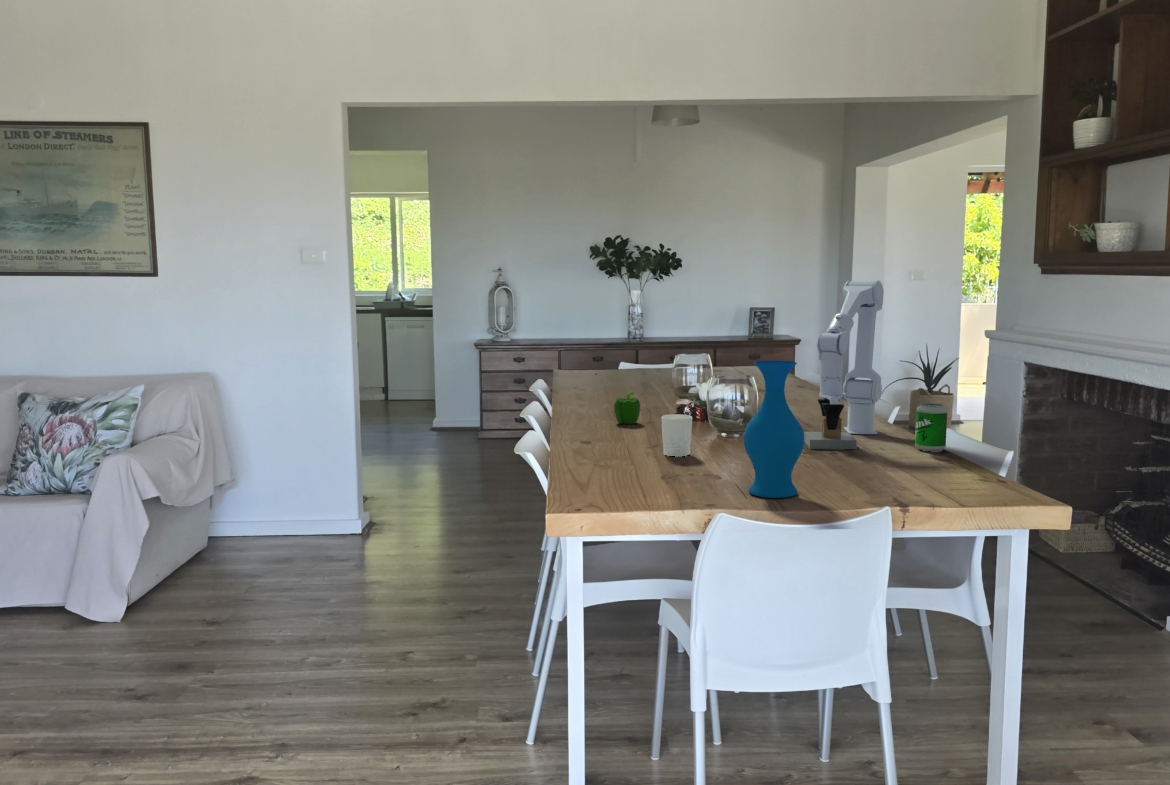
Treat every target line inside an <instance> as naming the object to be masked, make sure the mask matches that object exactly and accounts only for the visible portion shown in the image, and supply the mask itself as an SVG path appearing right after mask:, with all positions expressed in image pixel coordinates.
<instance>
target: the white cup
mask: <svg viewBox="0 0 1170 785" xmlns="http://www.w3.org/2000/svg"><path fill="white" fill-rule="evenodd" d="M692 429H693V416H692V415H688V414H677V413H676V414H675V413H674V414H664V415H662V416H661V434H662V435H661V436H662V446H663V447H662V448H663V449H662V450H663V455H664V456H665V455H667V456H666V457H669V456H675V457H674V458H679V457H678V456H685V457H687V456H686V455H689V454H690V455H691V443H692V441H691V440H692ZM690 455H689V456H690Z"/></svg>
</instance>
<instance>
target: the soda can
mask: <svg viewBox="0 0 1170 785" xmlns="http://www.w3.org/2000/svg"><path fill="white" fill-rule="evenodd" d="M915 409H916V411H915V413H916V414H915V430H914V432H915V436H914V438H915V439H914V440H915V441H914V446H915V447H916V448H917V449H921V450H925V451H931V452H930V453H941V452H943V450H944V449H945V448H947V424H948V409H947V408H946V407H945V405H944V404H943V403H941V404H940V403H933V402H932V403H931V402H930V403H929V402H927V403H926V402H925V403H923V402H922V403H920V404H919V405H918V406H917V407H916V408H915Z"/></svg>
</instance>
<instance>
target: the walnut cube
mask: <svg viewBox="0 0 1170 785" xmlns="http://www.w3.org/2000/svg"><path fill="white" fill-rule="evenodd" d="M821 432H822V435H823V437H835V438H841V432H842V417H840V416H839V420H838V424H837V428H836V430H828V428H827V423H826V416H821Z"/></svg>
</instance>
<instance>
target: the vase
mask: <svg viewBox="0 0 1170 785" xmlns="http://www.w3.org/2000/svg"><path fill="white" fill-rule="evenodd" d="M753 364H754V365H755V366H756V368H758V370H759V371H760V373H761V375H762V376H763V380H764V390H765V391H764V396H763V400H762V402H761V404H760V406H759V408H758V410H757V411H756V412H755V414H754V415H753V416H752V417H751V419H750V420H749V422H748V423H747V425H746V427H745V429H744V433H743V445H744V449H745V452H746V455H747V456H748V458H749V460H750V462H751V464H752V467H753V470H754V479H753V482H752V484H750V487H749V488H748V493H749V494H750V495H752V496H755V497H759V498H764V499H765V498H767V499H786V498H792V497H795V496H796V495H797V494H798V489H797V488H796V486H795V485H794V484H793V481H792V480H793V479H792V474H793V470H794V467H795V465H796V463H797V461H798V460H799V458H800V457H801V455H802V453H803V450H804V446H805V441H804V440H805V438H804V432H805V431H804V430H803V427H802V426H801V423H800V422H799V420H798V419H797V417H796V416H795V415H794V414H793V412H792V411H791V409H790V406H789V404H788V402H787V399H786V391H785V386H786V380H787V377H788V376H789V374H790V373H791V371H792V370H793V369H794V367H795V366H796V365H797V364H798V363H797V361H796V362H795V361H789V360H760V361H754V362H753Z"/></svg>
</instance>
